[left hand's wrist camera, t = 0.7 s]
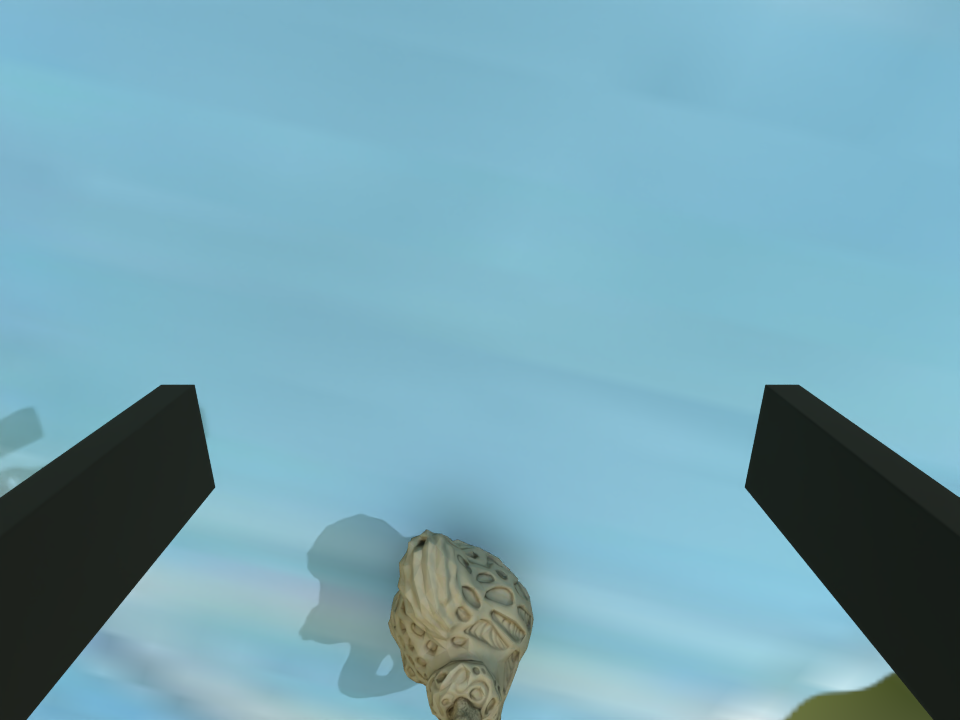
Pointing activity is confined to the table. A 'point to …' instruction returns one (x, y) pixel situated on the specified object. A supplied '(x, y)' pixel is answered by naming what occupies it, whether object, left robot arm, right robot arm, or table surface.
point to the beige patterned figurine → (459, 626)
